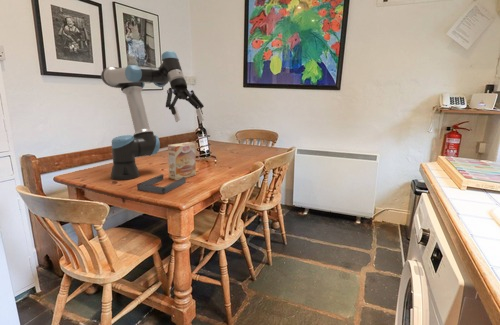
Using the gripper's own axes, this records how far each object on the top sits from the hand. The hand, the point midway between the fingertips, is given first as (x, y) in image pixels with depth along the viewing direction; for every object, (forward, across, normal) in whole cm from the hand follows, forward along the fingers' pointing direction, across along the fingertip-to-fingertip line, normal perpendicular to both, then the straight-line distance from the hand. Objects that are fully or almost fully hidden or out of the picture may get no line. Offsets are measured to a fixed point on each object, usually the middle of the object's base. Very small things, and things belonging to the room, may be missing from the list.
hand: (190, 120), depth 134 cm
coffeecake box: (+16, +15, +40) cm, 46 cm away
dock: (+21, -4, +34) cm, 40 cm away
